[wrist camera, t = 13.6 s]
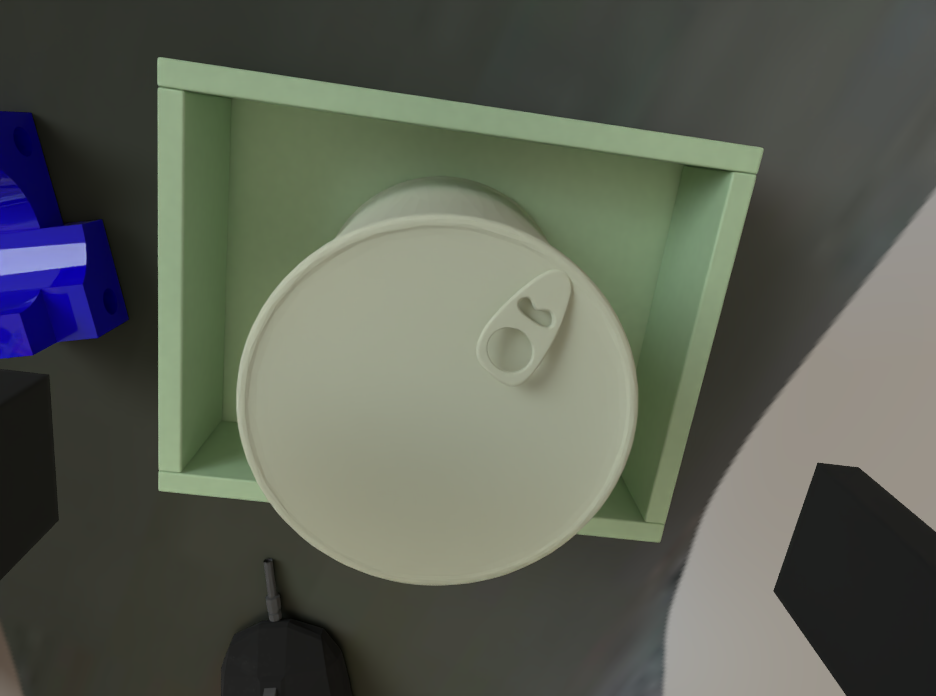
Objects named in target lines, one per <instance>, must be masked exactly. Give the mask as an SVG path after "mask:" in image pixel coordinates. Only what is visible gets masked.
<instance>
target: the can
mask: <svg viewBox="0 0 936 696" xmlns="http://www.w3.org/2000/svg"><path fill="white" fill-rule="evenodd" d="M236 411H237V421H238V429H239V434H240V439H241V442H242V446H243V449H244V452H245V456H246V459H247V461H248V464H249V466H250V468H251V470H252V472H253V475H254V477H255V479H256V481H257V483H258V485H259V487H260V488H261V490H262V491H263V493H264V495H265V496H266V498H267V499H268V501H269V502H270V503H271V505H272V506H273V507H274V509H275V510H276V511H277V513H278V514H279V515H280V516H281V517H282V518H283V519H284V520H285V522H286V523H288V524H289V525H290V526H291V527H292V528H293V529H294V530H295V531H296V532H297V533H298V534H299V535H300V536H301V537H302V538H304V539H305V540H306V541H307V542H309V543H310V544H311V545H312V546H314V547H315V548H317V549H318V550H320V551H322V552H323V553H325V554H326V555H328V556H330V557H332V558H333V559H335V560H337V561H339V562H341V563H342V564H344V565H346V566H349V567H351V568H354V569H356V570H359V571H362V572H364V573H367V574H369V575H372V576H376V577H380V578H383V579H387V580H391V581H396V582H402V583H409V584H417V585H454V584H467V583H472V582H477V581H483V580H488V579H492V578H495V577H499V576H502V575H505V574H508V573H511V572H514V571H516V570H518V569H521V568H523V567H525V566H527V565H530V564H532V563H534V562H536V561H538V560H539V559H541V558H543V557H545V556H547V555H548V554H550V553H552V552H553V551H555V550H556V549H557V548H559V547H560V546H562V545H563V544H564V543H566V542H567V541H568V540H569V539H571V538H572V537H573V536H574V535H575V534H577V533H578V532H579V531H580V530H581V529H582V528H583V527H584V526H585V525H586V524H587V523H588V522H589V521H590V520H591V519H592V517H593V516H594V515H595V514H596V513H597V512H598V511H599V510H600V508H601V507H602V506H603V504H604V503H605V501H606V500H607V499H608V497H609V495H610V494H611V492H612V491H613V489H614V487H615V486H616V484H617V482H618V480H619V478H620V476H621V474H622V472H623V470H624V467H625V465H626V462H627V459H628V457H629V454H630V451H631V448H632V444H633V440H634V435H635V430H636V425H637V415H638V382H637V375H636V369H635V363H634V359H633V355H632V351H631V348H630V345H629V342H628V339H627V336H626V333H625V331H624V329H623V327H622V325H621V323H620V321H619V319H618V316H617V315H616V313H615V311H614V310H613V308H612V306H611V305H610V303H609V301H608V300H607V298H606V297H605V296H604V294H603V293H602V292H601V290H600V289H599V288H598V287H597V286H596V285H595V283H594V282H593V281H592V280H591V279H590V278H589V277H588V275H587V274H586V273H585V272H584V271H583V270H582V269H581V268H580V267H578V266H577V265H576V264H575V263H574V262H573V261H572V260H570V259H569V258H568V257H567V256H565V255H564V254H563V253H561V252H560V251H559V250H557V249H556V248H554V247H553V246H551V245H550V244H549V243H548V241H547V239H546V237H545V235H544V234H543V232H542V231H541V229H540V227H539V226H538V225H537V224H536V222H535V221H534V220H533V218H532V217H531V216H530V215H529V214H528V213H527V212H526V211H525V210H524V209H523V208H522V207H521V206H520V205H518V204H517V203H516V202H514V201H513V200H512V199H510V198H509V197H508V196H506V195H504V194H503V193H501V192H499V191H497V190H496V189H494V188H491V187H489V186H487V185H485V184H482V183H479V182H476V181H472V180H468V179H464V178H457V177H449V176H433V177H423V178H416V179H412V180H408V181H405V182H402V183H399V184H396V185H394V186H392V187H389V188H387V189H385V190H383V191H381V192H380V193H378V194H376V195H375V196H373V197H372V198H370V199H369V200H368V201H366V202H365V203H364V204H362V205H361V206H360V207H359V208H358V209H357V210H356V211H355V212H354V213H353V214H352V215H351V216H350V217H349V218H348V220H347V221H346V222H345V224H344V225H343V226H342V228H341V229H340V231H339V232H338V234H337V236H336V238H335V239H333V240H332V241H330V242H328V243H327V244H325V245H324V246H322V247H321V248H319V249H318V250H316V251H315V252H313V253H312V254H310V255H309V256H308V257H307V258H306V259H304V260H303V261H302V262H301V263H300V264H299V265H298V266H297V267H295V268H294V269H293V270H292V271H291V272H290V273H289V274H288V275H287V276H286V277H285V278H284V279H283V280H282V281H281V283H280V284H279V285H278V286H277V287H276V289H275V290H274V291H273V292H272V294H271V295H270V297H269V298H268V300H267V301H266V302H265V304H264V305H263V307H262V309H261V311H260V312H259V314H258V316H257V318H256V320H255V322H254V324H253V326H252V328H251V330H250V333H249V335H248V338H247V340H246V344H245V347H244V350H243V353H242V357H241V361H240V366H239V372H238V380H237V387H236Z"/></svg>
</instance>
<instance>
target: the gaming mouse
mask: <svg viewBox="0 0 936 696" xmlns="http://www.w3.org/2000/svg"><path fill="white" fill-rule="evenodd" d="M264 568H265V576H266V583H267V591H268V595H267V596H266V604H267V610H268V614H269V620H265V621H261V622H259V623H257V624H255V625H253V626H251V627H249V628H247V629H244V630H242V631H240V632H238V633H236V634H234V636H233V639H232V641H231V643H230V646H229V648H228V651H227V653H226V656H225V658H224V661H223V664H222V667H221V696H352V693H351V687H350V682H349V677H348V673H347V670H346V666H345V662H344V658H343V654H342V651H341V649H340V648H339V647H338V646H337V644H336V643H335V642H334V641H333V640H332V638H331V637H330V636H329V635H328V633H327V632H326V631H325V630H324V628H320V627H317V626H314V625H310V624H307V623H304V622H300V621H297V620H294V619H281V618H282V614H281V609H280V608H281V602H280V595H279V593H277V592H276V585H275V578H274V570H273V562H272V559H265V560H264Z"/></svg>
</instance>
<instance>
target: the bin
mask: <svg viewBox="0 0 936 696" xmlns="http://www.w3.org/2000/svg"><path fill="white" fill-rule="evenodd" d="M158 86H160V87H159V88H158V419H159V470H160V471H159V491H164V492H174V493H183V494H193V495H203V496H212V497H222V498H232V499H241V500H251V501H261V502H269V501H268V499H267V498H266V496H265V495H264V493H263V491H262V490H261V488H260V487H259V485H258V483H257V481H256V479H255V477H254V475H253V472H252V470H251V468H250V466H249V464H248V461H247V459H246V456H245V452H244V449H243V446H242V442H241V439H240V434H239V429H238V421H237V411H236V387H237V380H238V372H239V366H240V361H241V357H242V353H243V350H244V347H245V344H246V340H247V338H248V335H249V333H250V330H251V328H252V326H253V324H254V322H255V320H256V318H257V316H258V314H259V312H260V311H261V309H262V307H263V305H264V304H265V302H266V301H267V300H268V298H269V297H270V295H271V294H272V292H273V291H274V290H275V289H276V287H277V286H278V285H279V284H280V283H281V281H282V280H283V279H284V278H285V277H286V276H287V275H288V274H289V273H290V272H291V271H292V270H293V269H294V268H295V267H297V266H298V265H299V264H300V263H301V262H302V261H303V260H304V259H306V258H307V257H308V256H309V255H310V254H312V253H313V252H315V251H316V250H318V249H319V248H321V247H322V246H324V245H325V244H327V243H328V242H330V241H332V240H333V239H335V238H336V236H337V234H338V232H339V231H340V229H341V228H342V226H343V225H344V224H345V222H346V221H347V220H348V218H349V217H350V216H351V215H352V214H353V213H354V212H355V211H356V210H357V209H358V208H359V207H360V206H361V205H362V204H364V203H365V202H366V201H368V200H369V199H370V198H372V197H373V196H375V195H376V194H378V193H380V192H381V191H383V190H385V189H387V188H389V187H392V186H394V185H396V184H399V183H402V182H405V181H408V180H412V179H416V178H423V177H433V176H449V177H457V178H464V179H468V180H472V181H476V182H479V183H482V184H485V185H487V186H489V187H491V188H494V189H496V190H497V191H499V192H501V193H503V194H504V195H506V196H508V197H509V198H510V199H512V200H513V201H514V202H516V203H517V204H518V205H520V206H521V207H522V208H523V209H524V210H525V211H526V212H527V213H528V214H529V215H530V216H531V217H532V218H533V220H534V221H535V222H536V224H537V225H538V226H539V227H540V229H541V231H542V232H543V234H544V235H545V237H546V239H547V241H548V243H549V244H550V245H551V246H553V247H554V248H556V249H557V250H559V251H560V252H561V253H563V254H564V255H565V256H567V257H568V258H569V259H570V260H572V261H573V262H574V263H575V264H576V265H577V266H578V267H580V268H581V269H582V270H583V271H584V272H585V273H586V274H587V275H588V277H589V278H590V279H591V280H592V281H593V282H594V283H595V285H596V286H597V287H598V288H599V289H600V290H601V292H602V293H603V294H604V296H605V297H606V298H607V300H608V301H609V303H610V305H611V306H612V308H613V310H614V311H615V313H616V315H617V316H618V319H619V321H620V323H621V325H622V327H623V329H624V331H625V333H626V336H627V339H628V342H629V345H630V348H631V351H632V355H633V359H634V363H635V369H636V375H637V382H638V415H637V425H636V430H635V435H634V440H633V444H632V448H631V451H630V454H629V457H628V459H627V462H626V465H625V467H624V470H623V472H622V474H621V476H620V478H619V480H618V482H617V484H616V486H615V487H614V489H613V491H612V492H611V494H610V495H609V497H608V499H607V500H606V501H605V503H604V504H603V506H602V507H601V508H600V510H599V511H598V512H597V513H596V514H595V515H594V516H593V517H592V519H591V520H590V521H589V522H588V523H587V524H586V525H585V526H584V527H583V528H582V529H581V530H580V531H579V532H578V533H577V534H580V535H590V536H600V537H609V538H619V539H629V540H638V541H648V542H658V543H659V542H660V541H661V537H662V533H663V530H664V523H665V522H666V518H667V514H668V510H669V507H670V503H671V499H672V495H673V491H674V488H675V484H676V480H677V476H678V472H679V469H680V465H681V461H682V457H683V453H684V450H685V446H686V442H687V438H688V435H689V431H690V427H691V423H692V419H693V416H694V412H695V408H696V404H697V400H698V397H699V393H700V389H701V385H702V381H703V378H704V374H705V370H706V366H707V363H708V359H709V355H710V351H711V347H712V344H713V340H714V336H715V332H716V328H717V325H718V321H719V317H720V313H721V309H722V306H723V302H724V298H725V294H726V291H727V287H728V283H729V279H730V275H731V272H732V268H733V264H734V260H735V256H736V253H737V249H738V245H739V241H740V237H741V234H742V230H743V226H744V222H745V219H746V215H747V211H748V207H749V203H750V200H751V196H752V192H753V188H754V184H755V181H756V175H755V174H757V173H758V170H759V166H760V162H761V158H762V154H763V148H761V147H755V146H748V145H741V144H735V143H728V142H721V141H715V140H708V139H702V138H695V137H688V136H682V135H675V134H668V133H662V132H655V131H648V130H642V129H635V128H628V127H622V126H615V125H608V124H602V123H595V122H588V121H582V120H575V119H568V118H562V117H555V116H549V115H542V114H535V113H529V112H522V111H515V110H509V109H502V108H495V107H489V106H482V105H475V104H469V103H462V102H455V101H449V100H442V99H435V98H429V97H422V96H415V95H409V94H402V93H396V92H389V91H382V90H376V89H369V88H362V87H356V86H349V85H342V84H336V83H329V82H322V81H316V80H309V79H302V78H296V77H289V76H282V75H276V74H269V73H262V72H256V71H249V70H243V69H236V68H229V67H223V66H216V65H209V64H203V63H196V62H189V61H183V60H176V59H169V58H163V57H159V58H158Z"/></svg>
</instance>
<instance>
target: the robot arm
mask: <svg viewBox="0 0 936 696" xmlns="http://www.w3.org/2000/svg"><path fill="white" fill-rule="evenodd" d="M58 520H59V518H58V502H57V487H56V471H55V456H54V441H53V425H52V410H51V394H50V379H49V375H47V374H38V373H30V372H21V371H12V370H4V369H0V580H1V579H2V578H3V577H4V576H5V575H6V574H7V573H8V572H9V571H10V570H11V569H12V568H13V567H14V566H15V564H16V563H17V562H18V561H19V560H20V559H21V558H22V557H23V556H24V555H25V554H26V553H27V552H28V551H29V550H30V549H31V548H32V547H33V546H34V545H35V544H36V543H37V542H38V541H39V540H40V539H41V538H42V537H43V536H44V535H45V534H46V533H47V532H48V531H49V530H50V529H51V528H52V527H53V525H54V524H55V523H56V522H57V521H58ZM774 593H775V594H776V595H777V597H778V598H779V600H780V601H781V602H782V604H783V605H784V607H785V608H786V610H787V611H788V613H789V614H790V615H791V617H792V618H793V620H794V621H795V623H796V624H797V626H798V627H799V628H800V630H801V631H802V633H803V634H804V635H805V637H806V638H807V640H808V641H809V643H810V644H811V646H812V647H813V648H814V650H815V651H816V653H817V654H818V655H819V657H820V658H821V660H822V661H823V663H824V664H825V666H826V667H827V668H828V670H829V671H830V673H831V674H832V676H833V677H834V679H835V680H836V681H837V683H838V684H839V686H840V687H841V688H842V690H843V691H844V693H845V694H846V696H936V532H935V531H934V530H933V529H931V528H930V527H929V526H928V525H926V523H924V522H923V521H922V520H921V519H920V518H918V517H917V516H916V515H915V514H914V513H912V512H911V511H910V510H909V509H908V508H906V507H905V506H904V505H903V504H902V503H900V502H899V501H898V500H897V499H896V498H894V497H893V496H892V495H891V494H890V493H889V492H887V491H886V490H885V489H884V488H883V487H881V486H880V485H879V484H878V483H877V482H875V481H874V480H873V479H872V478H871V477H869V476H868V475H867V474H866V473H865V472H863V471H862V470H861V469H860V468H858V467H850V466H842V465H833V464H824V463H817V466H816V469H815V472H814V476H813V478H812V481H811V484H810V486H809V489H808V492H807V495H806V498H805V501H804V504H803V507H802V510H801V513H800V516H799V518H798V521H797V524H796V527H795V530H794V533H793V536H792V539H791V542H790V545H789V548H788V550H787V553H786V556H785V559H784V562H783V565H782V568H781V571H780V573H779V576H778V580H777V582H776V585H775V588H774Z"/></svg>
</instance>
